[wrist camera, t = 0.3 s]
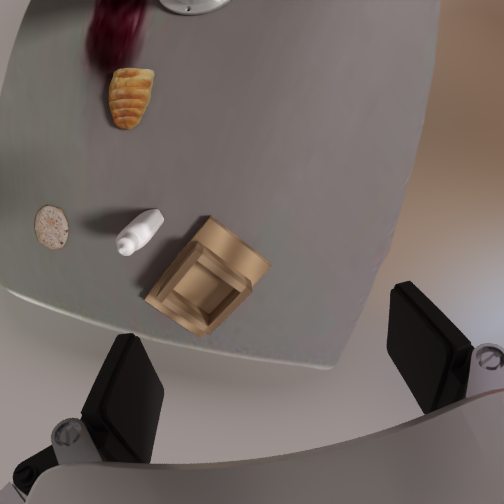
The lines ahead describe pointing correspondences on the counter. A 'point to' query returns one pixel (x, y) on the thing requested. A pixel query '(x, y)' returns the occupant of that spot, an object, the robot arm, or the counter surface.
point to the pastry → (129, 95)
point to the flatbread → (51, 227)
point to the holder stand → (208, 279)
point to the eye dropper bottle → (139, 231)
